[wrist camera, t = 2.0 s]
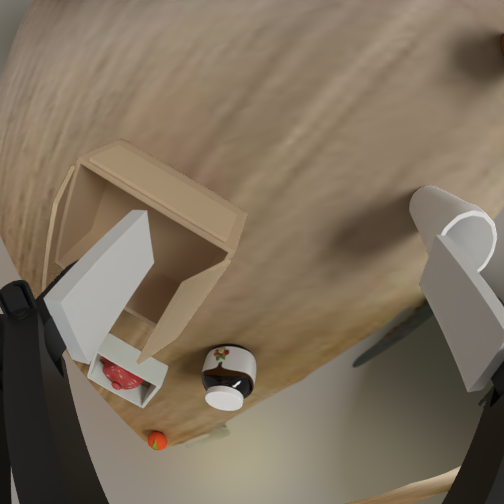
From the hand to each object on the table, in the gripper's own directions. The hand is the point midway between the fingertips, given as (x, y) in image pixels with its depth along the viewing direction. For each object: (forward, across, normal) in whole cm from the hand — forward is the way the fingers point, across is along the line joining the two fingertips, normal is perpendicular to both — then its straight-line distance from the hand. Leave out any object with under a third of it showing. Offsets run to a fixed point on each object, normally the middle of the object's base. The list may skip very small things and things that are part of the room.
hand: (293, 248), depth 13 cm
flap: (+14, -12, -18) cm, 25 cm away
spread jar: (+29, -8, -44) cm, 53 cm away
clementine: (+29, -34, -92) cm, 103 cm away
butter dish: (+29, -34, -52) cm, 69 cm away
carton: (+29, -19, -13) cm, 37 cm away
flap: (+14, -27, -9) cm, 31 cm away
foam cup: (+29, +22, -7) cm, 37 cm away
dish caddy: (+29, -34, -52) cm, 68 cm away
